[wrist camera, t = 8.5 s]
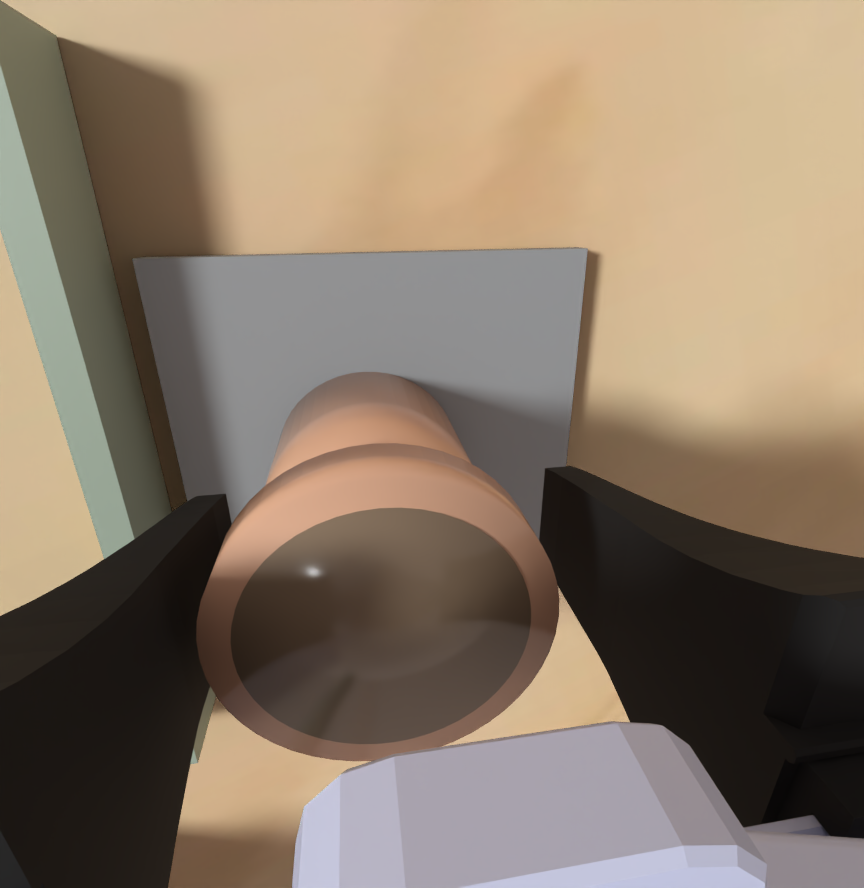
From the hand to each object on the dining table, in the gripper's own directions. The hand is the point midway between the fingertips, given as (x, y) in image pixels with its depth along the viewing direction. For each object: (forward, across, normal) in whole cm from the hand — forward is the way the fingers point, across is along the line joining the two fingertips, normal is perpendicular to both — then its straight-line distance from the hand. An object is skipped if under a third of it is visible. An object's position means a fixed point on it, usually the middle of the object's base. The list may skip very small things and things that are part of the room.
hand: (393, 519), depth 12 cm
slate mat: (+4, 0, 0) cm, 4 cm away
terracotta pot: (+3, 0, 0) cm, 3 cm away
